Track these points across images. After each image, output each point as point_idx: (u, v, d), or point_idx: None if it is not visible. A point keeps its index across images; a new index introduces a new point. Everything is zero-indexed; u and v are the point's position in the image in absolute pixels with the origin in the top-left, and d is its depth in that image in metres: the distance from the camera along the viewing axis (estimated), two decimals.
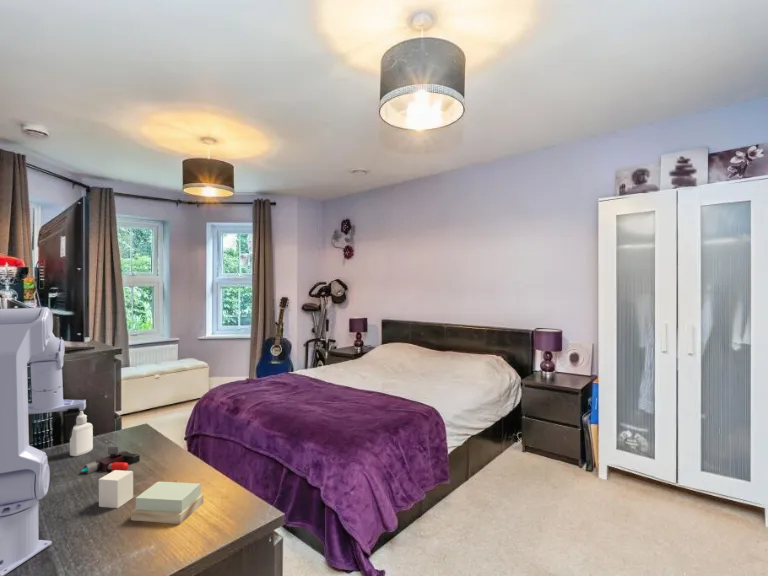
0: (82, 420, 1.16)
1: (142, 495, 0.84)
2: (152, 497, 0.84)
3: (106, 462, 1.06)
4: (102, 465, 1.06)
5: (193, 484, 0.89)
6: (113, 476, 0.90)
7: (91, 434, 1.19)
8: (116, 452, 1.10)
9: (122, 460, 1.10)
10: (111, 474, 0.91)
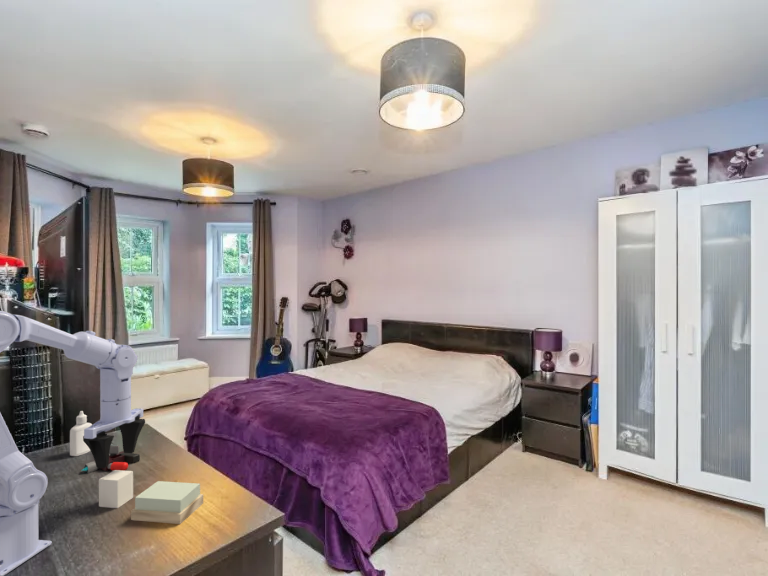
0: (82, 420, 1.16)
1: (141, 495, 0.85)
2: (151, 497, 0.84)
3: None
4: None
5: (192, 484, 0.89)
6: (113, 476, 0.90)
7: None
8: (116, 452, 1.11)
9: (122, 460, 1.10)
10: (111, 474, 0.91)
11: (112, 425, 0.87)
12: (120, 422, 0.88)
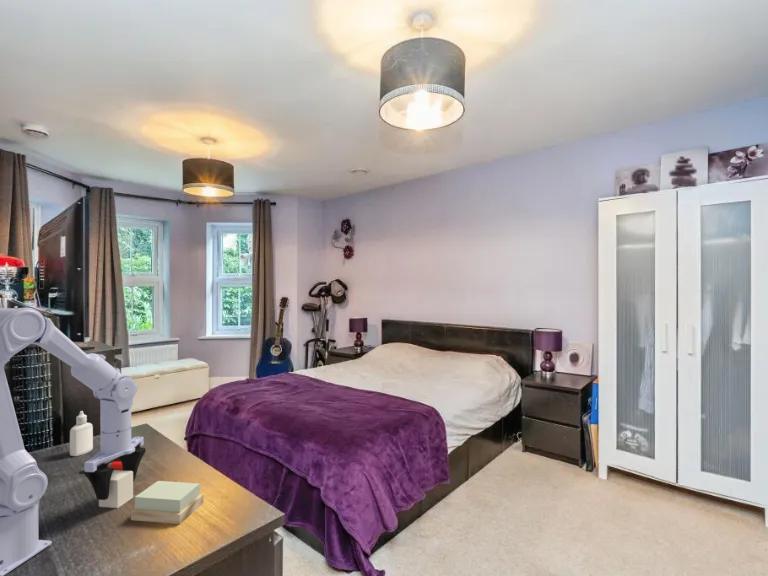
0: (82, 420, 1.16)
1: (141, 494, 0.85)
2: (150, 497, 0.84)
3: None
4: None
5: (192, 484, 0.89)
6: (113, 476, 0.90)
7: (91, 434, 1.19)
8: None
9: None
10: None
11: (112, 457, 0.87)
12: (120, 453, 0.88)
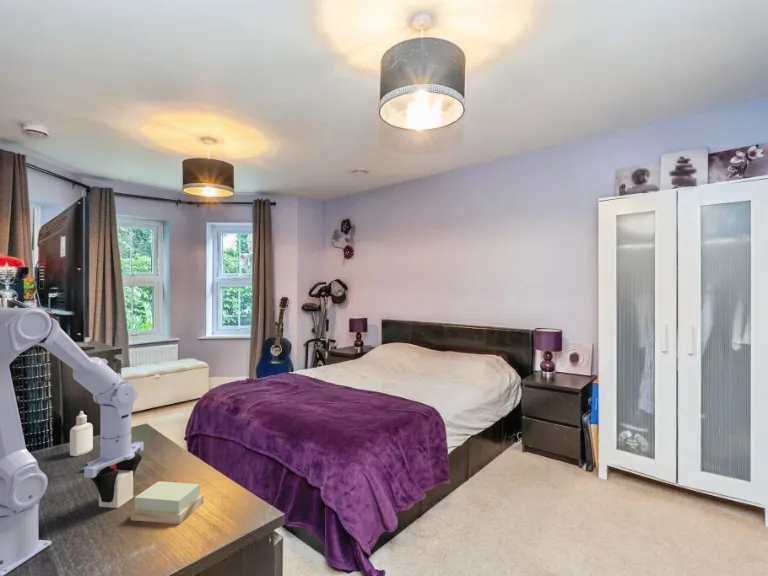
0: (82, 420, 1.16)
1: (141, 495, 0.85)
2: (150, 497, 0.84)
3: None
4: None
5: (192, 484, 0.89)
6: None
7: (91, 434, 1.19)
8: None
9: None
10: None
11: (112, 462, 0.87)
12: (120, 459, 0.88)
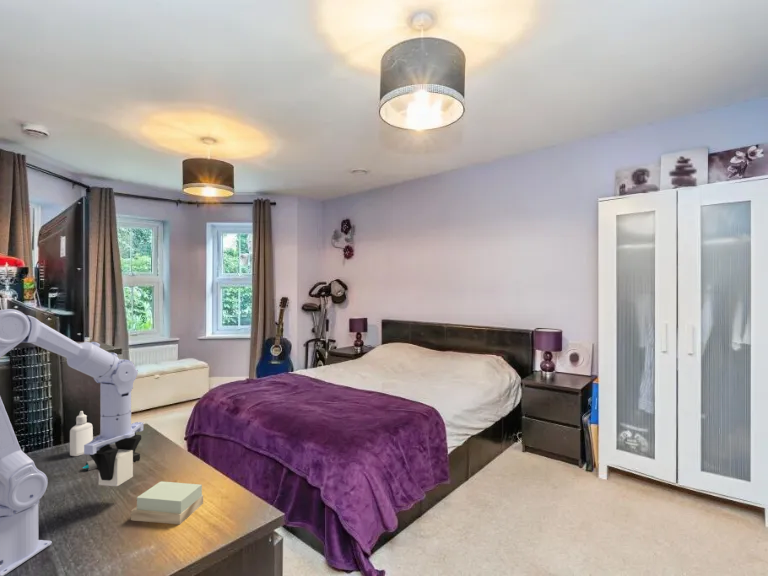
0: (82, 420, 1.16)
1: (143, 495, 0.85)
2: (152, 498, 0.84)
3: None
4: None
5: (194, 485, 0.89)
6: None
7: (91, 434, 1.19)
8: None
9: None
10: None
11: (112, 440, 0.87)
12: (120, 437, 0.88)
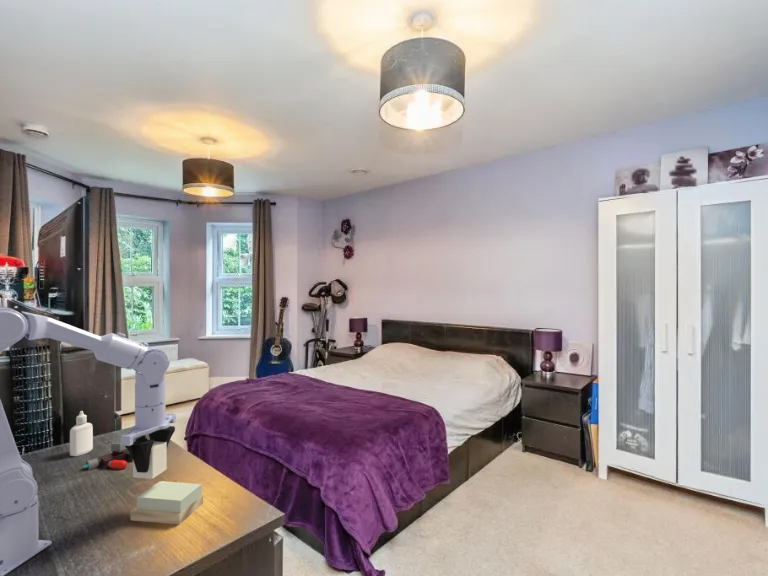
0: (82, 420, 1.16)
1: (143, 494, 0.85)
2: (152, 497, 0.84)
3: (107, 459, 1.08)
4: (103, 462, 1.08)
5: (194, 484, 0.89)
6: None
7: (91, 434, 1.19)
8: (118, 449, 1.12)
9: (123, 458, 1.12)
10: None
11: (148, 431, 0.84)
12: (156, 428, 0.86)
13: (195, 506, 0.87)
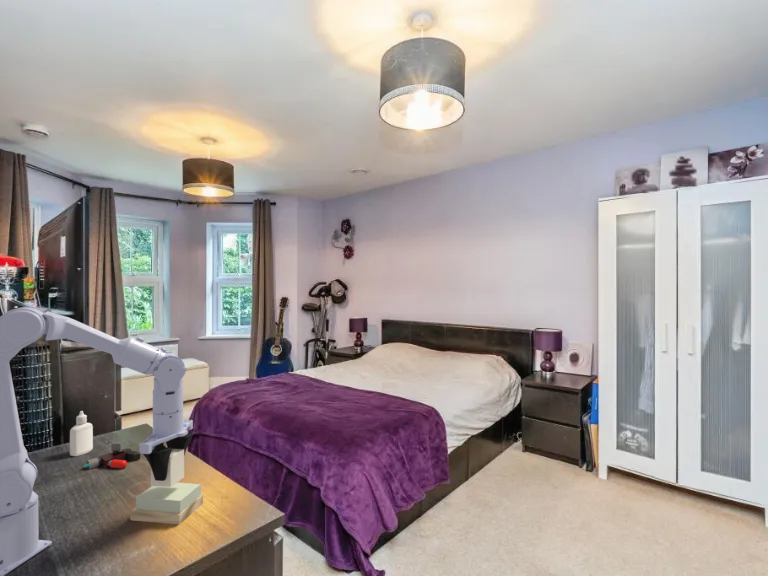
0: (82, 420, 1.16)
1: (142, 494, 0.85)
2: (151, 497, 0.83)
3: (107, 459, 1.08)
4: (103, 461, 1.08)
5: (193, 484, 0.89)
6: None
7: (91, 434, 1.19)
8: (118, 449, 1.12)
9: (124, 457, 1.12)
10: None
11: (166, 439, 0.83)
12: (174, 436, 0.84)
13: (195, 506, 0.87)
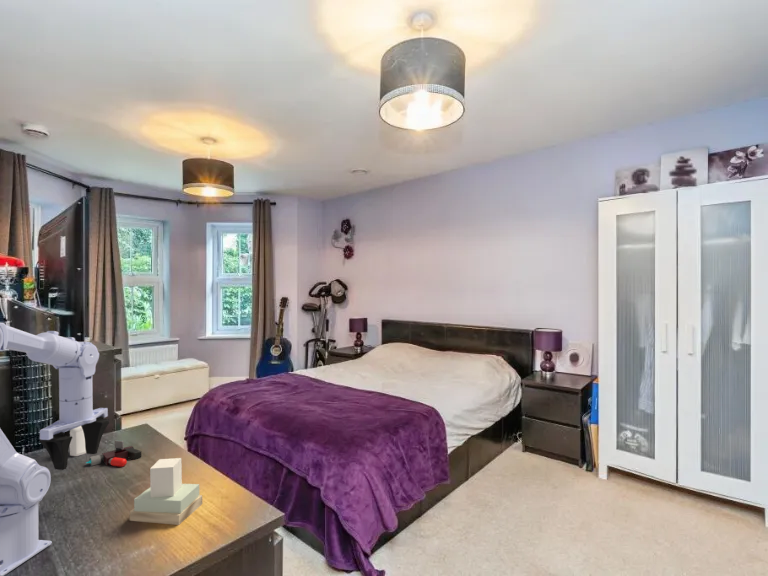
0: None
1: (140, 496, 0.84)
2: (150, 498, 0.83)
3: (108, 456, 1.10)
4: (105, 459, 1.10)
5: (192, 484, 0.89)
6: (164, 464, 0.85)
7: None
8: (121, 447, 1.14)
9: (125, 455, 1.13)
10: (160, 463, 0.86)
11: (71, 425, 0.84)
12: (80, 422, 0.85)
13: (194, 507, 0.87)
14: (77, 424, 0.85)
